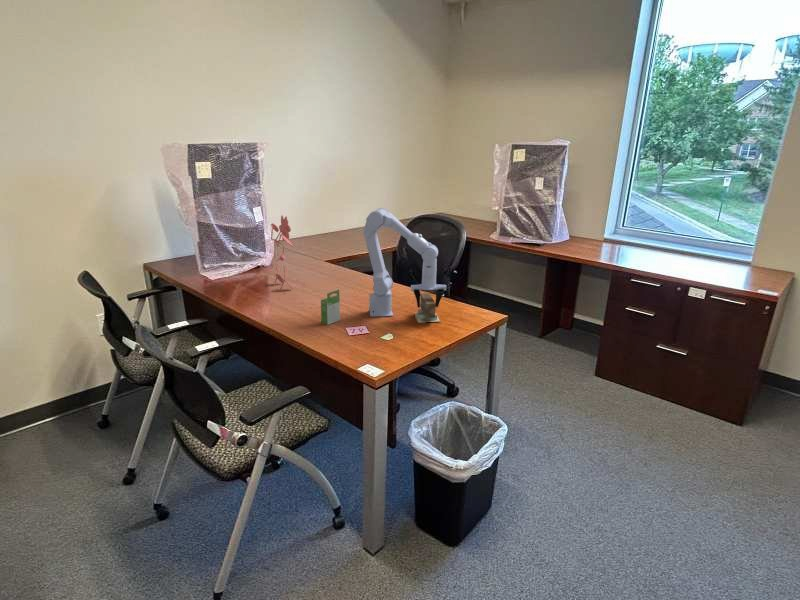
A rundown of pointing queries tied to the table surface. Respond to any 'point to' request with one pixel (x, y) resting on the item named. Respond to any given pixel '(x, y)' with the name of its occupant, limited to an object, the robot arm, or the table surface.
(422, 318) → the rail stand
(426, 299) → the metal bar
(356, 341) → the table surface
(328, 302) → the ink box
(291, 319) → the table surface
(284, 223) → the figurine
